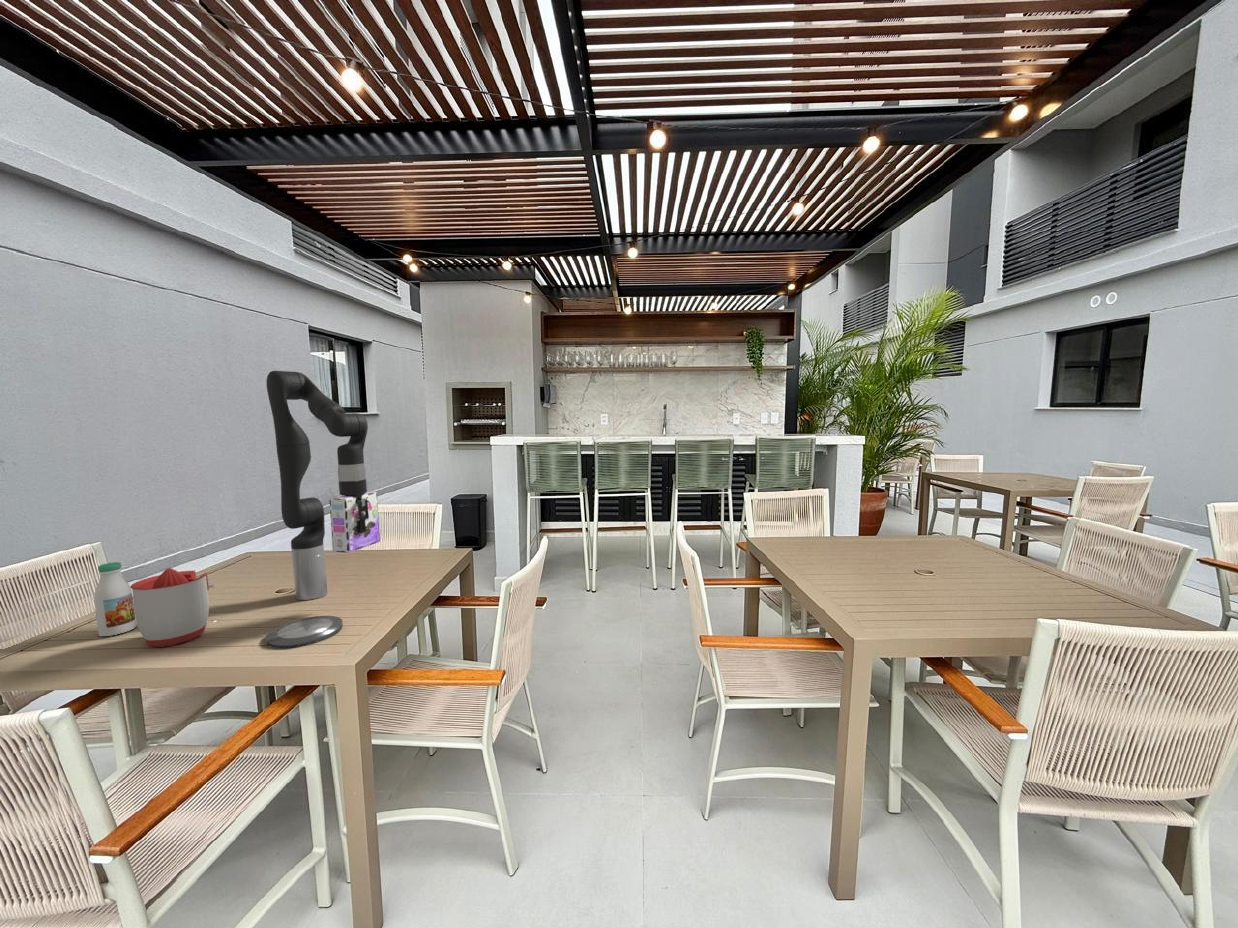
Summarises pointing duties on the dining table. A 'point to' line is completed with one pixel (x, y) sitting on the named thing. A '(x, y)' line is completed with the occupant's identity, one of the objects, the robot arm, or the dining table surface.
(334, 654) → the dining table surface
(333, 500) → the candy box
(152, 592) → the citrus juicer
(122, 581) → the milk bottle
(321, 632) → the metal plate
